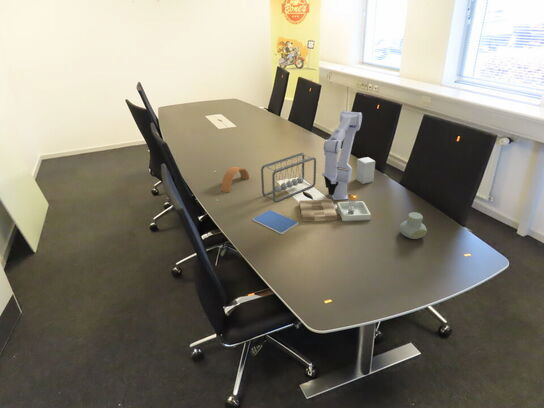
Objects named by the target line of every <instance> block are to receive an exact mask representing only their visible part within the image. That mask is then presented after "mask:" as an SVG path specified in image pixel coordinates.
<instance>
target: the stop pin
mask: <svg viewBox="0 0 544 408" xmlns="http://www.w3.org/2000/svg"><path fill="white" fill-rule="evenodd" d="M347 196H348V199H347V200H348V202H349V209H348V213H349V214H354V213H355V203H356V202H357V200H358V195H357V194H353V193H352V194H351V193H350V194H347Z"/></svg>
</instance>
